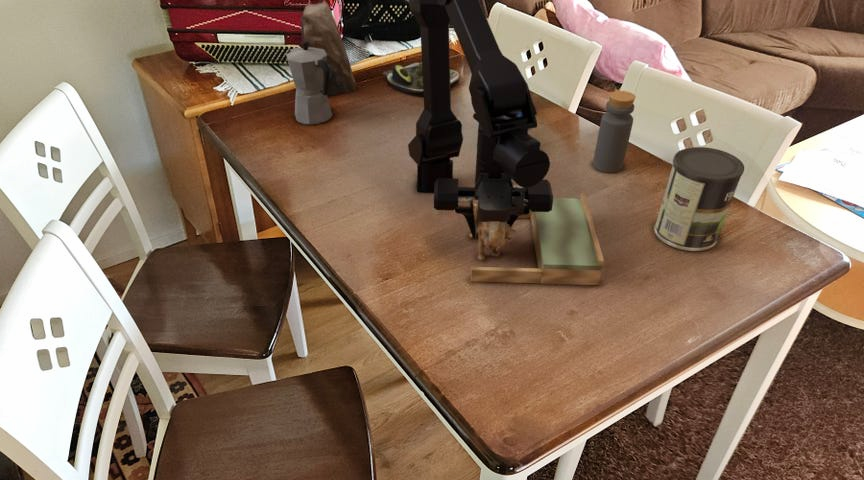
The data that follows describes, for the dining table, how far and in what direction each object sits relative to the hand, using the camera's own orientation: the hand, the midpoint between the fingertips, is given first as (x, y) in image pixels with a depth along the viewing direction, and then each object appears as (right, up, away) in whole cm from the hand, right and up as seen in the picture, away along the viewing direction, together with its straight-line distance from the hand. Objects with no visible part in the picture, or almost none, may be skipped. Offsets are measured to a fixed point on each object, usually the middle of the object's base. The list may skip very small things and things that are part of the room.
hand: (488, 236), depth 105 cm
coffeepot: (-34, +31, +43) cm, 63 cm away
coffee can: (+34, +1, +2) cm, 34 cm away
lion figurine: (0, -2, +1) cm, 2 cm away
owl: (-31, +41, +56) cm, 76 cm away
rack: (+7, -2, +1) cm, 7 cm away
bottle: (+28, +15, +20) cm, 38 cm away
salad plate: (-8, +43, +56) cm, 72 cm away
